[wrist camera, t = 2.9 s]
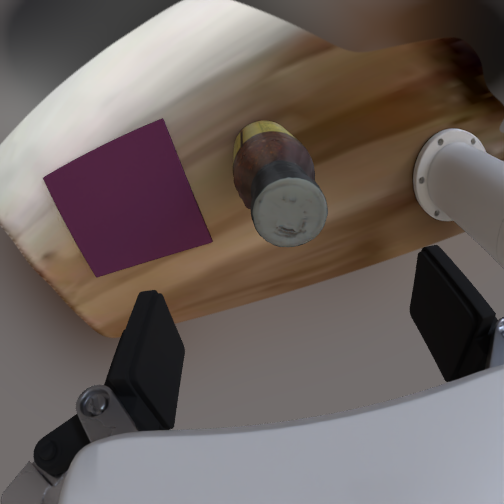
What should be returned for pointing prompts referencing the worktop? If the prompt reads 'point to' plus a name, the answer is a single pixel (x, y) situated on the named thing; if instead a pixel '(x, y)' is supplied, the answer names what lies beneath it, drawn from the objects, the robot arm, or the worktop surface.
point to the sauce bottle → (278, 184)
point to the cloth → (128, 201)
